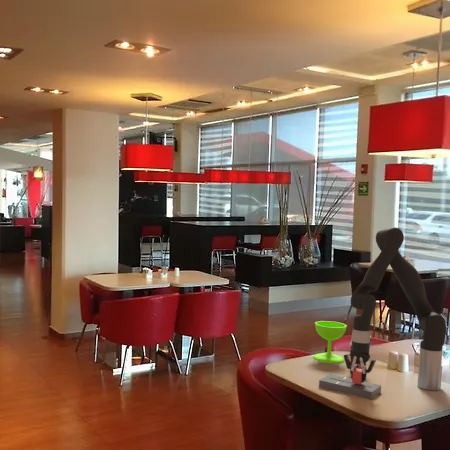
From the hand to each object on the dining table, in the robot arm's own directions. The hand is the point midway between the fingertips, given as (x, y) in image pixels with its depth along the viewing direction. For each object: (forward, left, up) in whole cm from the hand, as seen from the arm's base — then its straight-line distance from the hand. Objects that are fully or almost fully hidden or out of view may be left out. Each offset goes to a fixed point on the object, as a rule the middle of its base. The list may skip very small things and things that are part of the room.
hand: (358, 380), depth 235 cm
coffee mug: (+20, -60, -5) cm, 63 cm away
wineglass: (+30, -40, -5) cm, 50 cm away
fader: (0, 0, -1) cm, 1 cm away
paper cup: (+11, -28, -5) cm, 30 cm away
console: (+4, 0, -5) cm, 6 cm away
